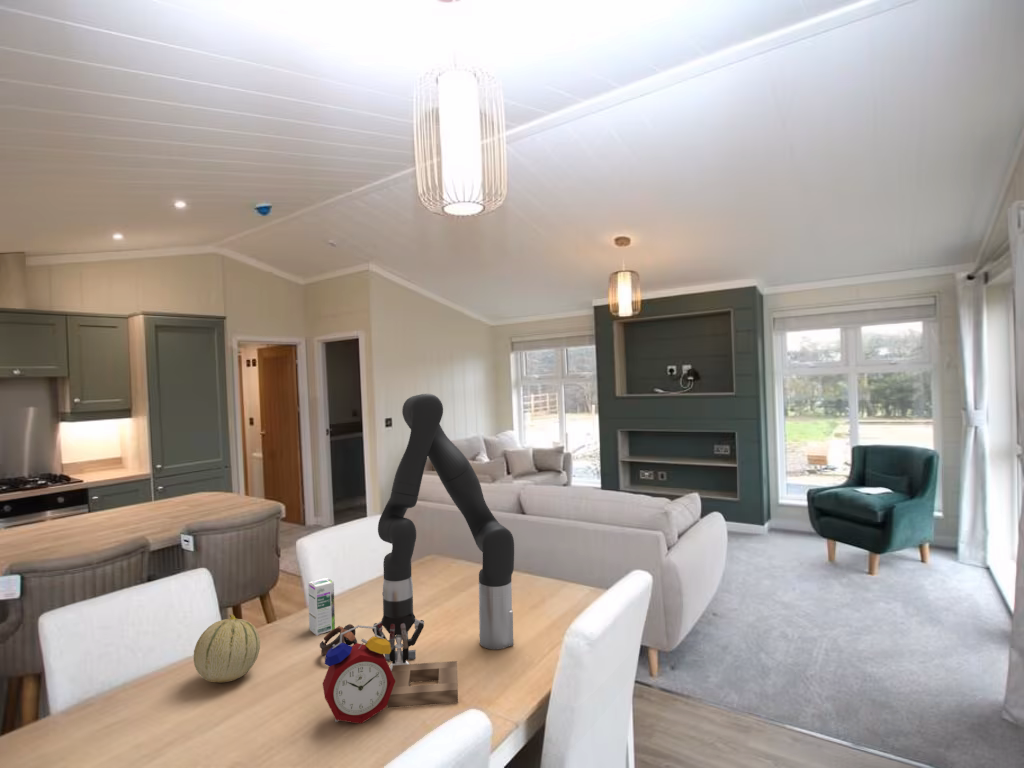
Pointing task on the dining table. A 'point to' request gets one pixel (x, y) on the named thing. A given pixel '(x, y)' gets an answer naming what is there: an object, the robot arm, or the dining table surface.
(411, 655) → the stand rails
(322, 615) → the syrup box
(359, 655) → the alarm clock
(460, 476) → the robot arm
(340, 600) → the dining table surface
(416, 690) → the block
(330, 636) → the pottery mug
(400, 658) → the chess piece
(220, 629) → the cantaloupe
